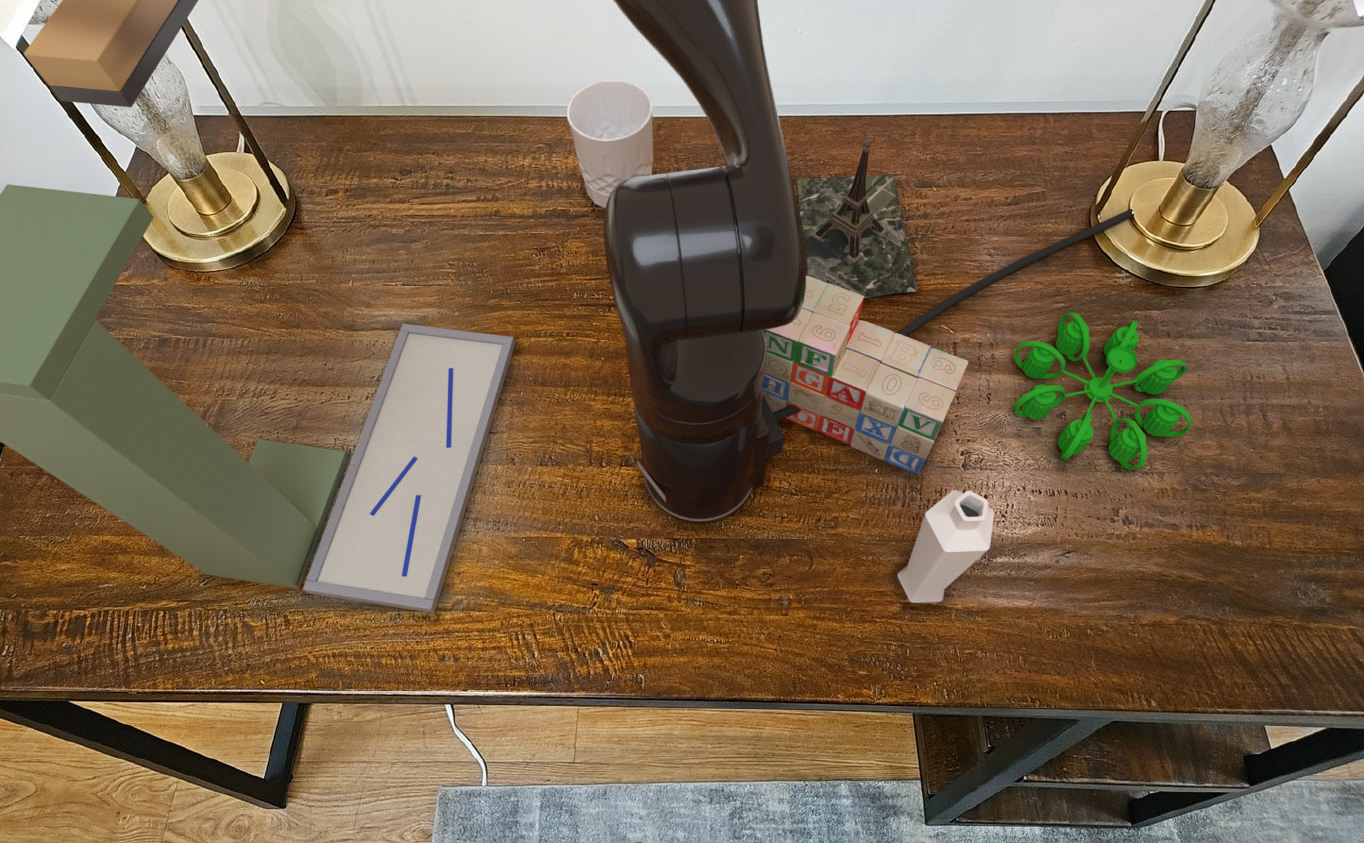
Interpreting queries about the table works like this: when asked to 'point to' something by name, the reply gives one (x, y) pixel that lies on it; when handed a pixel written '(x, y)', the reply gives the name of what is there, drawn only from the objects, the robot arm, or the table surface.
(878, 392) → the stack of blocks
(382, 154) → the table surface
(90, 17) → the eraser
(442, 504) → the whiteboard
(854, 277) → the eiffel tower figurine
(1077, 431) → the chandelier
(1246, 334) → the table surface
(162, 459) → the green bent block
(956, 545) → the white faceted vase
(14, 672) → the table surface
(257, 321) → the table surface
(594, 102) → the white cup
